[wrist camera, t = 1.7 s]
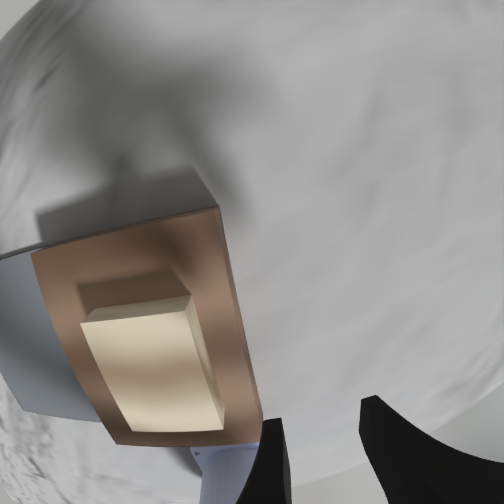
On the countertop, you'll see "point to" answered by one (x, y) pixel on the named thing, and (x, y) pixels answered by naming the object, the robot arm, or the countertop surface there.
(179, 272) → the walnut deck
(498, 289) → the countertop surface
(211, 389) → the birch tile
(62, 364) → the grey flat slab
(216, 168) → the countertop surface
